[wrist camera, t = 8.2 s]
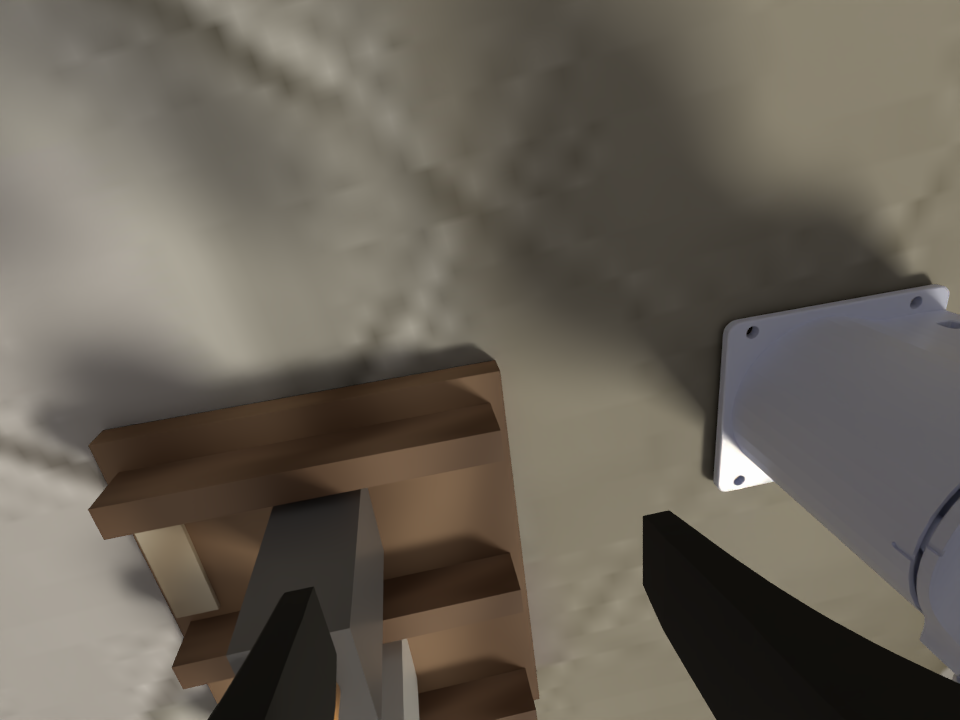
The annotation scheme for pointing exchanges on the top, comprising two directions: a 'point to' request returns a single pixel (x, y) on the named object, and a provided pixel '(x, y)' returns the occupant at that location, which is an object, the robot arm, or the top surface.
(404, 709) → the grey plug
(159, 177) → the top surface
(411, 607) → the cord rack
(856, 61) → the top surface
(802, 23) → the top surface
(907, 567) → the robot arm
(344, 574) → the charcoal plug
